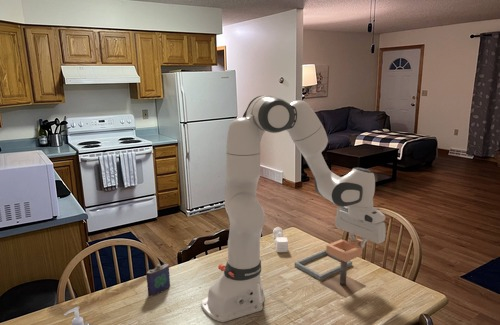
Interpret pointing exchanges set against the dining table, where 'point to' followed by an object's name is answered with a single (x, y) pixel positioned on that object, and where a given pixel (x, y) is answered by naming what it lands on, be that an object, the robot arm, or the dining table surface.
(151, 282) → the flask
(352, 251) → the ring
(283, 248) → the container set
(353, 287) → the post
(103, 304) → the dining table surface
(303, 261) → the grey rectangular frame
